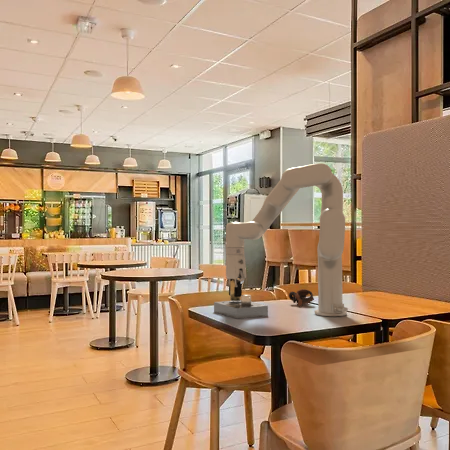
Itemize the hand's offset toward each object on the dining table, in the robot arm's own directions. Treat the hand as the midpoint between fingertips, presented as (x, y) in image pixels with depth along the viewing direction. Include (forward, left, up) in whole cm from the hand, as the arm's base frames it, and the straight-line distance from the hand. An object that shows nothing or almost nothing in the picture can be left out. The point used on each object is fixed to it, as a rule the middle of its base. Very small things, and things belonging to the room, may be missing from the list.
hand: (235, 295), depth 196 cm
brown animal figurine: (+4, -36, -7) cm, 37 cm away
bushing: (0, 0, -2) cm, 2 cm away
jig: (-4, 0, -7) cm, 8 cm away
